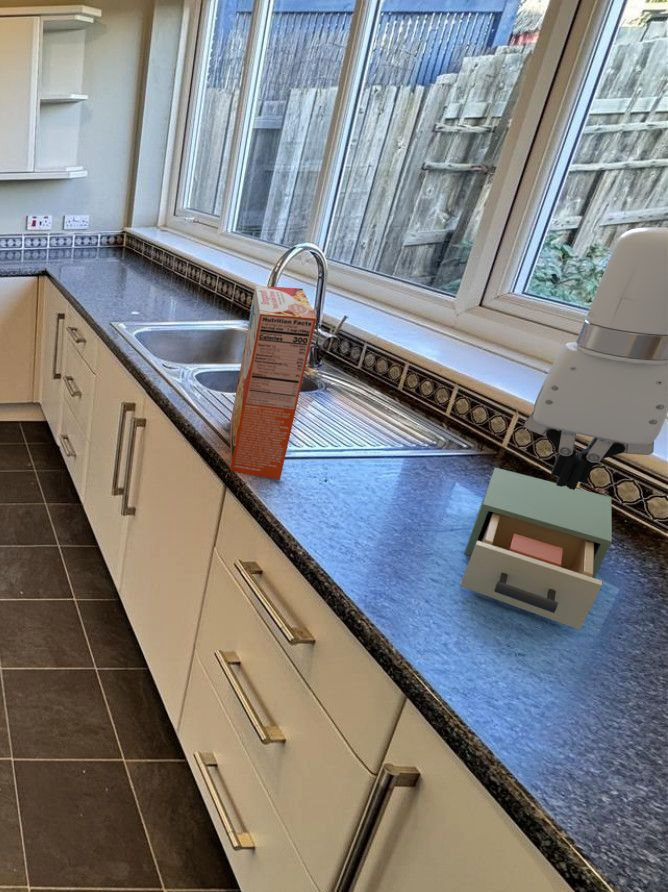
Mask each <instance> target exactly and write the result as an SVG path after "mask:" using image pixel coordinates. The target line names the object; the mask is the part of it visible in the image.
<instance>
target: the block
mask: <svg viewBox="0 0 668 892" xmlns="http://www.w3.org/2000/svg"><path fill="white" fill-rule="evenodd" d="M507 550H508V551H512V552H515V553H518V554H521V555H524V556H527V557H530V558H533V559H536V560H539V561H543V562H546V563H549V564H552V565H555V566H558V567H561V562H562V552H563V548H560V547H557V546H554V545H550V544H547V543H544V542H541V541H537V540H534V539H531V538H528V537H524V536H521V535H518V534H515V533H514V534H513V536H512V539H511V541H510V544H509V546H508V549H507Z"/></svg>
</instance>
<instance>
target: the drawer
mask: <svg viewBox="0 0 668 892" xmlns="http://www.w3.org/2000/svg"><path fill="white" fill-rule="evenodd" d="M514 533H515V534H518V535H521V536H524V537H528V538H531V539H534V540H537V541H541V542H544V543H547V544H550V545H554V546H557V547H560V548H563V552H562V562H561V567H558V566H555V565H552V564H549V563H546V562H543V561H539V560H536V559H533V558H530V557H527V556H524V555H521V554H518V553H515V552H512V551H508V550H507V549H508V546H509V544H510V541H511V539H512V536H513V534H514ZM593 559H594V542H593V541H589V540H586V539H582V538H579V537H576V536H572V535H569V534H566V533H562V532H559V531H555V530H552V529H549V528H545V527H542V526H538V525H535V524H532V523H528V522H525V521H521V520H518V519H515V518H511V517H508V516H505V515H501V514H498V513H494V512H492V515H491V518H490V520H489V523H488V525H487V528H486V531H485V533H484V536H483V538H482V541H477V542H476V545H475V548H474V550H473V553H472V555H471V556H470V558H469V560H468V564H467V566H466V568H465V571H464V574H463V577H462V579H461V581H460V585H459V586H460V587H461V588H464V589H466V590H470V591H472V592H475V593H478V594H479V595H480V594H481V595H483V596H486V597H488V598H492V599H494V600H497V601H499V602H502V603H505V604H508V605H510V606H514V607H516V608H518V609H521V610H524V611H526V612H530V613H533V614H534V615H538V616H540V617H543V618H546V619H549V620H552V621H554V622H557V623H560V624H563V625H565V626H567V627H570V628H573V629H576V630H579V631H581V629H582V627H583V626H584V623H585V621H586V619H587V617H588V615H589V613H590V611H591V609H592V607H593V605H594V603H595V601H596V599H597V596H598V595H599V593H600V591H601V588H602V587H603V580H601V579H598V578H596V577H595V578H592V575H593Z"/></svg>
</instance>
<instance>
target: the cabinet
mask: <svg viewBox="0 0 668 892" xmlns="http://www.w3.org/2000/svg"><path fill="white" fill-rule="evenodd" d="M492 512H494V513H498V514H501V515H505V516H508V517H511V518H515V519H518V520H521V521H525V522H528V523H532V524H535V525H538V526H542V527H545V528H549V529H552V530H555V531H559V532H562V533H566V534H569V535H572V536H576V537H579V538H582V539H586V540H589V541H593V542H594V559H593V575H592V578H595V579H596V576H597V574H598V572H599V570H600V568H601V565H602V564H603V562H604V560H605V557H606V556H607V553H608V551H609V549H610V547H611V544H612V542H613V537H612V536H613V525H612V523H613V521H612V513H613V512H612V497H611V496H608V495H603V494H599V493H596V492H592V491H588V490H584V489H580V488H578V487H576V488H575V490H572V489H569V488H568V487H567V485H565V486H562V487H560V486H556V482H553V481H549V480H545V479H542V478H537V477H534V476H530V475H526V474H523V473H518V472H514V471H510V470H507V469H502V468H498V467H494V469H493V471H492V473H491V476H490V479H489V482H488V485H487V488H486V490H485V492H484V495H483V498H482V501H481V503H480V506H479V509H478V511H477V513H476V516H475V520H474V523H473V526H472V529H471V532H470V535H469V538H468V541H467V545H466V547H465V550H464V553H463V554H464V555H466V556H468V557H471V555H472V553H473V550H474V548H475V545H476V542H477V541H482V538H483V536H484V533H485V531H486V528H487V525H488V523H489V520H490V518H491V515H492Z"/></svg>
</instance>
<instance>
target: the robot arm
mask: <svg viewBox="0 0 668 892" xmlns="http://www.w3.org/2000/svg"><path fill="white" fill-rule="evenodd" d="M667 415H668V227H663V226H662V227H659V226H658V227H657V226H655V227H654V226H652V227H650V226H649V227H637V228H631V229H629V230H626V231H625V232H624V233H622V234H621V235H620V236H619V237H618V238H617V240H616V242H615V244H614V247H613V248H612V251H611V253H610V256H609V259H608V261H607V263H606V267H605V269H604V271H603V274H602V276H601V278H600V282H599V284H598V286H597V289H596V292H595V294H594V296H593V298H592V301H591V304H590V306H589V308H588V311H587V314H586V317H585V319H584V320H583V324H582V326H581V328H580V332H579V334H578V336H577V339H576V341H574V342H572V341H571V342H566V344H565V345H563V347H562V349H561V350H560V351H559V353H558V355H557V356H556V357H555V359H554V360H553V363H552V365H551V366H550V368H549V370H548V372H547V374H546V376H545V378H544V381H543V383H542V385H541V387H540V390H539V391H538V394H537V396H536V399H535V402H534V405H533V411H532V412H531V414H530V415H529V416H528V418H527V419H526V420H525V422H524V428H525V429H526V430H528V431H531V432H533V433H535V434H538V435H541V436H543V437H546V438H547V439H548V441H549V442H551V444H552V445H553V446H554V447H555V449H556V450H557V451H558V453H557V457H556V459H555V460H554V464H553V466H552V468H551V471H550V476H554V477H556V482H555V483H556V486H560V487H562V486H567V487H568V488H569V489H572V490H575V488H577V486H578V484H579V483H581V484H586V483H587V481H588V479H589V476H590V475H591V472H592V470H593V468H594V465H595V464H596V463H599V462H600V461H601V460H604V459H607V458H610V457H614V456H617V455H620V454H627V455H639V456H640V455H641V456H650V455H652V454H653V453H654V449H655V441H656V440H657V438H658V437H659V435H660V432H661V430H662V428H663V426H664V423H665V420H666V419H667ZM577 435H582V436H587V437H591V438H592V439H591V441H590V442H589V443H588V445H587V446H586V447H585V448H583V449H582V450H581V451H580V452H577V447H576V446H575V443H576V438H577Z"/></svg>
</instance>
